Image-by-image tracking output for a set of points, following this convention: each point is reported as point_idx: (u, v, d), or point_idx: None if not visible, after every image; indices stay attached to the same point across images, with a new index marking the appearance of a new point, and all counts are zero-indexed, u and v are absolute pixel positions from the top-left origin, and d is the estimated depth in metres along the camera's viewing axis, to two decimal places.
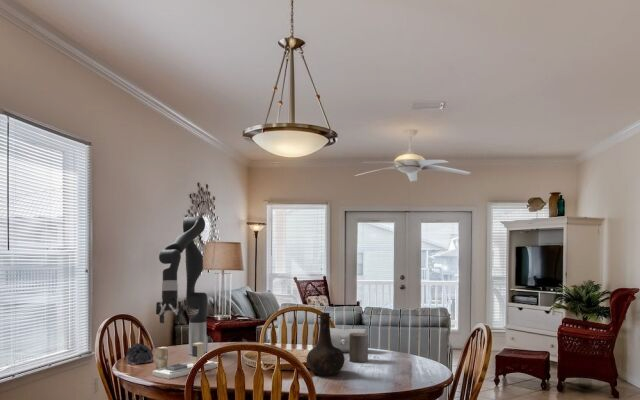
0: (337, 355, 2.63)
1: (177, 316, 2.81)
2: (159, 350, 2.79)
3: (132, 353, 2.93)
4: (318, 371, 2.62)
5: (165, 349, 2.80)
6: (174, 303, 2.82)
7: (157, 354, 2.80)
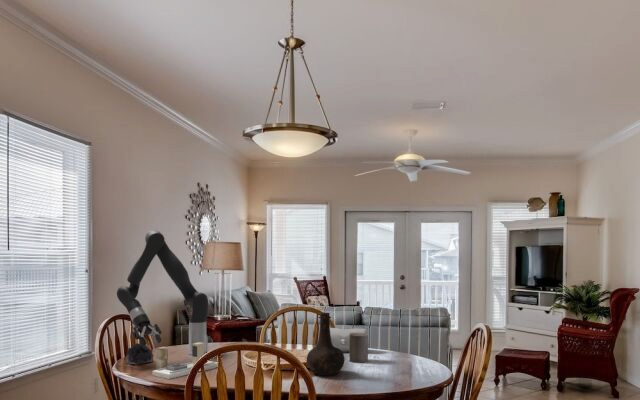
0: (337, 355, 2.63)
1: (140, 340, 2.83)
2: (159, 350, 2.79)
3: (132, 353, 2.92)
4: (318, 371, 2.62)
5: (165, 349, 2.80)
6: None
7: (157, 354, 2.80)
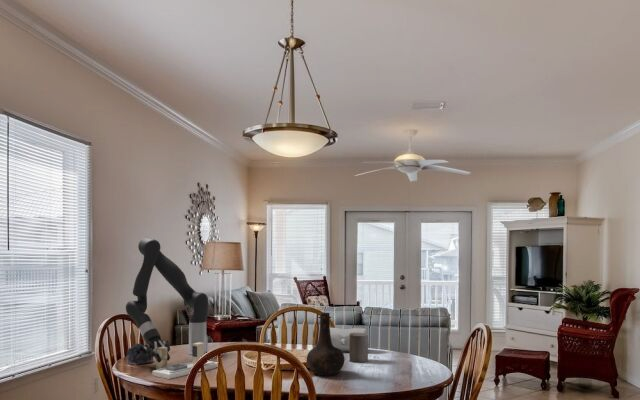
0: (337, 355, 2.63)
1: None
2: (159, 350, 2.79)
3: (132, 353, 2.92)
4: (318, 371, 2.62)
5: (165, 349, 2.80)
6: None
7: None
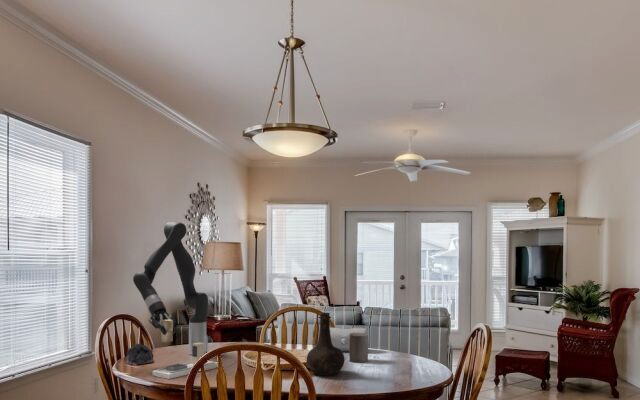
0: (337, 355, 2.63)
1: (160, 329, 2.75)
2: (164, 322, 2.75)
3: (132, 353, 2.92)
4: (318, 371, 2.62)
5: (170, 321, 2.76)
6: None
7: None
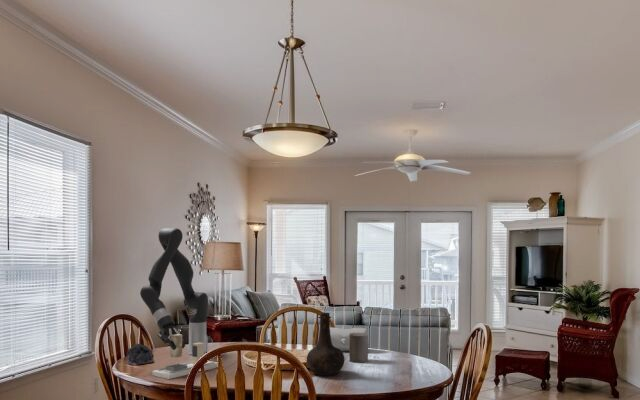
0: (337, 355, 2.63)
1: (170, 344, 2.69)
2: (174, 337, 2.69)
3: (133, 353, 2.92)
4: (318, 371, 2.62)
5: (180, 336, 2.71)
6: None
7: None
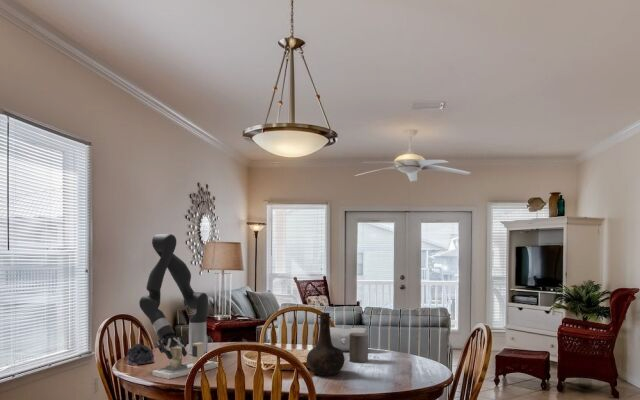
0: (337, 355, 2.63)
1: (166, 354, 2.68)
2: (173, 350, 2.68)
3: (133, 354, 2.91)
4: (318, 371, 2.62)
5: (179, 349, 2.70)
6: None
7: None
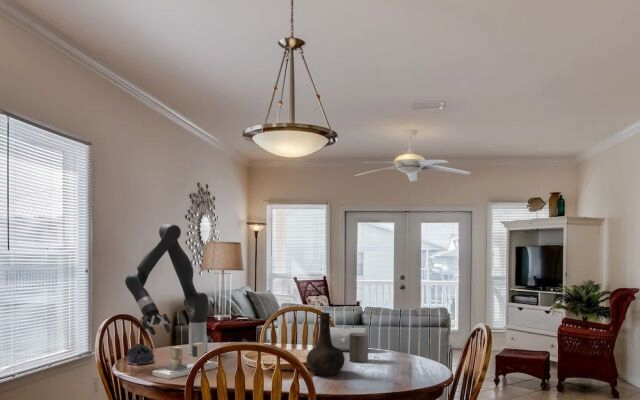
0: (337, 355, 2.63)
1: None
2: (173, 350, 2.68)
3: (133, 354, 2.91)
4: (318, 371, 2.62)
5: (179, 349, 2.70)
6: None
7: (171, 355, 2.69)
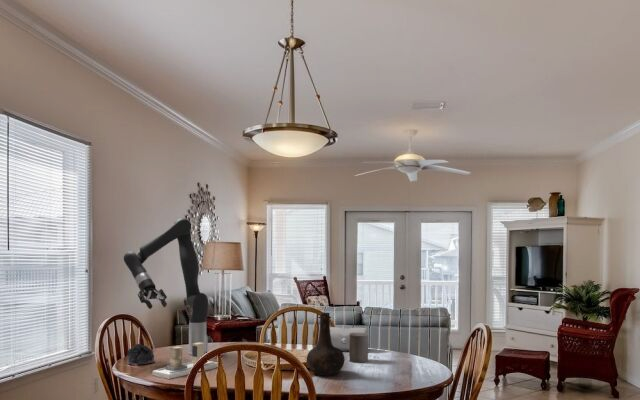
0: (337, 355, 2.63)
1: None
2: (173, 350, 2.68)
3: (133, 354, 2.91)
4: (318, 371, 2.62)
5: (179, 349, 2.70)
6: None
7: (171, 355, 2.69)
